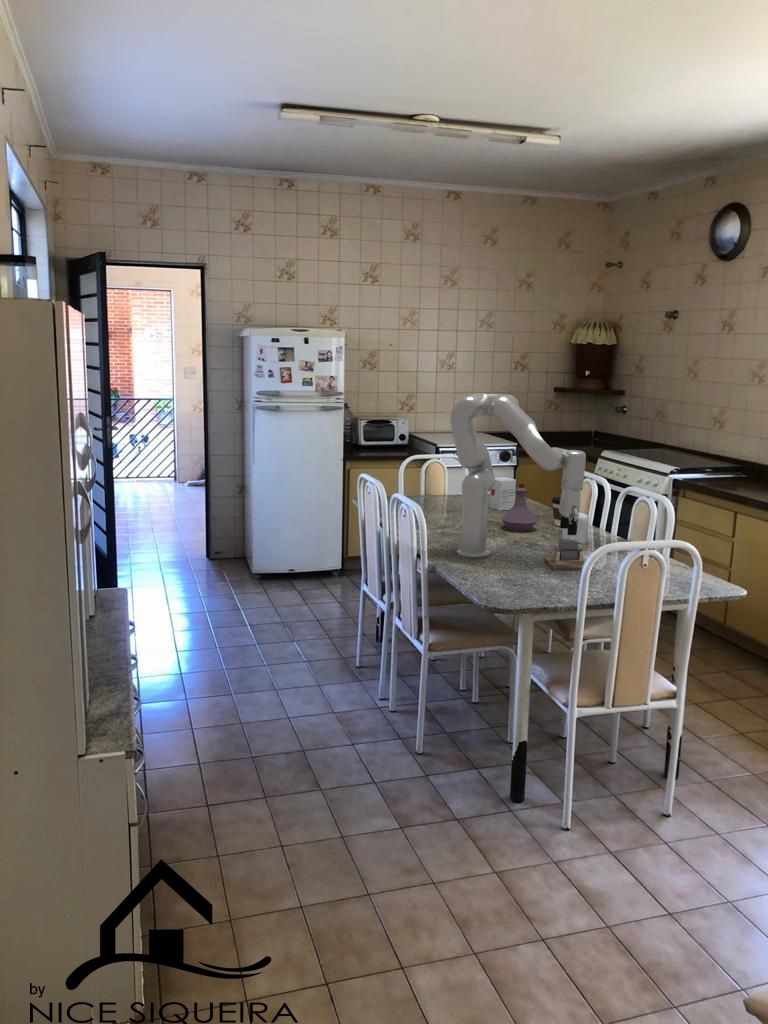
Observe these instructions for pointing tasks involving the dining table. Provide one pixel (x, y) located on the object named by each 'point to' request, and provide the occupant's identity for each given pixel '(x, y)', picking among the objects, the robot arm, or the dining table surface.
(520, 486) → the flask
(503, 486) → the supplement box
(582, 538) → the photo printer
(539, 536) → the dining table surface
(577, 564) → the dock
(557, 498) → the coffee cup
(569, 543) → the servo block
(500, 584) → the dining table surface
